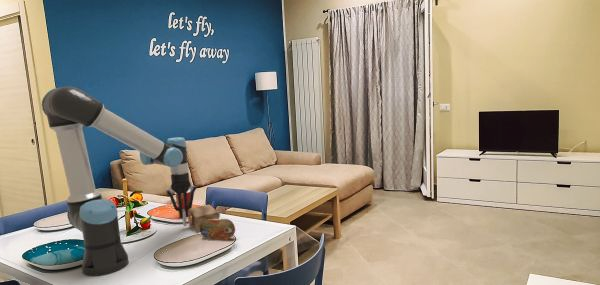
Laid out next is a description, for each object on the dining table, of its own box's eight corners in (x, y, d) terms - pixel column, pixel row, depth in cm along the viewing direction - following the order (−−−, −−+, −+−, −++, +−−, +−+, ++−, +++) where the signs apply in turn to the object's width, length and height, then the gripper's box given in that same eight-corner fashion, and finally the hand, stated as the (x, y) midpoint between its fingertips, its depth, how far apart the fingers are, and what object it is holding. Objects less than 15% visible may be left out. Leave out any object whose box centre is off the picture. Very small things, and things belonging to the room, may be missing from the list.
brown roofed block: (190, 227, 181) (189, 215, 180) (188, 224, 186) (187, 213, 185) (221, 221, 187) (219, 210, 186) (218, 218, 192) (217, 207, 191)
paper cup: (176, 216, 203) (173, 188, 201) (191, 213, 206) (189, 186, 205) (178, 220, 196) (175, 192, 194) (194, 217, 199) (191, 189, 197)
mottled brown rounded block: (200, 239, 169) (198, 219, 168) (204, 236, 172) (202, 217, 171) (233, 241, 164) (231, 220, 163) (237, 238, 167) (235, 218, 166)
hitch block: (197, 232, 177) (195, 217, 176) (189, 222, 191) (188, 208, 190) (219, 227, 181) (218, 212, 180) (211, 218, 196) (209, 204, 195)
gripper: (192, 169, 186) (197, 219, 189) (163, 173, 180) (168, 225, 183) (196, 172, 179) (200, 224, 182) (165, 176, 173) (171, 230, 176)
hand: (184, 224), depth 183 cm, fingers closed
